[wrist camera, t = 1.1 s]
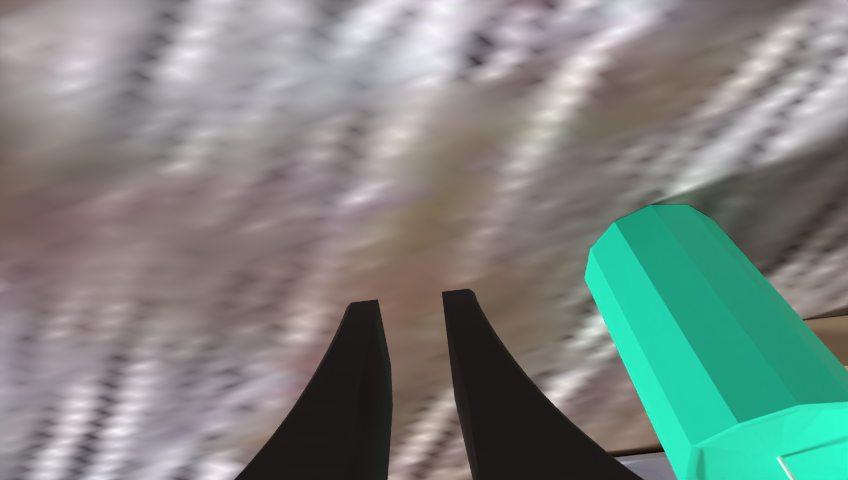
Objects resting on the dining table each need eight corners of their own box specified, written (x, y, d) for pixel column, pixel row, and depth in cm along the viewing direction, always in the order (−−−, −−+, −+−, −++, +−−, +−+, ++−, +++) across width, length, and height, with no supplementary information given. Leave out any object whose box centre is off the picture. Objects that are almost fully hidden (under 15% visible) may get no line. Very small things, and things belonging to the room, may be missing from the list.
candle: (676, 175, 24) (891, 413, 13) (747, 260, 26) (971, 515, 16) (556, 264, 26) (664, 527, 16) (632, 335, 28) (768, 601, 18)
